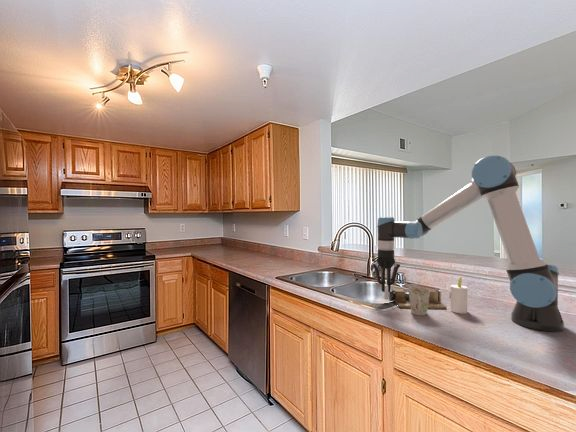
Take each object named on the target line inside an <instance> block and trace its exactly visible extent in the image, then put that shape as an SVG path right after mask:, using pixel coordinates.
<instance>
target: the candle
mask: <svg viewBox="0 0 576 432" xmlns="http://www.w3.org/2000/svg"><path fill="white" fill-rule="evenodd" d="M462 279H463V276H460V277H459V278H458V282H457V284H450V287H449V288H450V292H449V299H450V300H449V302H450V305H449V306H450V309H449V310H450V312H453V313H456V314H461V315H462V314H463V315H464V314H467V313H468V287H467V286H466V285H462Z"/></svg>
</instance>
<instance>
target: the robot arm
mask: <svg viewBox="0 0 576 432" xmlns="http://www.w3.org/2000/svg"><path fill="white" fill-rule="evenodd" d="M516 175H517V171H516V168H515V166H514V164H513V163H512V162H510V161H509V160H508V159H507V158H506V157H503V156H501V155H488V156H484V157H482V158H480V159H479V160H477V162H475V164H474V165H473V167H472V169H471V182H470V183H468V184H466V185H465V186H464V187H463V188H461V189H459V190H458V191H457V192H455V193H454V194H453V195H452V194H451V195H450V196H449V197H447V198H446V199H445V200H443V201H442V202H440V203H439V204H437V205H436V206H435V207H433V208H431V209H429V210H428V211H426V213H424V214H422V215H421V216H420V217H418V218H417V219H414V220H410V221H406V220H405V221H404V220H403V221H395V218H394V216H379V217H378V218H377V226H376V227H377V248H378V249H377V257H376V261H375V262H373V263H371V265H372V267H373V269H374V273H375V278H376V281H377V283H378V284H379V285H381V286H380V287H381V288H380V289H381V291H382V293H383V299H384V300H389V297H388V292H390V290H391V285H394V284H395V282H396V278H397V275H398V270H399V268H400V266H401V264H400V263H398V262H396V259H395V250H394V249H395V238H399V239H400V238H401V239H403V238H404V239H410V240H412V239H414V240H415V239H420V238H421V237H423V236H425V235H427V234H428V233H429V231H431V230H432V229H434V228H435V227H437V226H439V225H440V224H442V223H444V222H445V221H447V220H449V219H451V218H452V217H453V216H455V215H457V214H458V213H460V212H462V211H463V210H464V209H466V208H467V207H470V206H471V205H472V204H474V203H476V202H477V201H479V200H481V199H482V198H483V199H485V200H486V201H487V202H488V206H489V208H490V210H491V214H492V217H493V220H494V222H495V225H496V228H497V231H498V234H499V239H500V240H501V242H502V246H503V250H504V253H505V255H506V258H507V262H508V264H507V266H506V268H505V271H506V273H507V276H508V279H509V291H510V294H511V296H512V297H513V298H514V299H515V300H516V301H515V302H516V303H515V305H514V307H513V309H512V312H511V316H510V318H511V321H512V322H513V323H515V324H517V325H519V326H522V327H524V328H525V327H526V328H528V329H532V330H537V331H543V332H551V333H554V332H556V333H557V332H562V331H563V332H564V330H565V322H564V320H563V317H562V315H561V312H560V309H559V306H558V305H559V303H558V302H559V274H560V273H559V270H558V269H559V268H558V266H556V265H554V264H548V262H546V261H544V260H542V259H541V257H540V255H539V253H538V251H537V247H536V245H535V242H534V239H533V237H532V234H531V231H530V229H529V228H530V227H529V226H528V224H527V220H526V218H525V214H524V212H523V209H522V206H521V204H520V201H519V197H518V196H517V191H518V189H519V188H520V185H519V182H518V180H517V176H516ZM378 266H379V267H380V270H381V271H379V269H378ZM392 269H393V270H392ZM391 271H392V273H391ZM380 275H381V276H380Z"/></svg>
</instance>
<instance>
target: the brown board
mask: <svg viewBox="0 0 576 432" xmlns="http://www.w3.org/2000/svg"><path fill="white" fill-rule="evenodd" d="M391 289H392V290H391V291H393V292H395V299H394V300H393V301H392V302H394V304H395V303H396V304H397V305H398V306H399V307H400V308H399V307H398V306H397V305H396V304H395V305H396V306H397V307H398V308H399V309H411V306H410V299H408V300H405V293H406V291H405V289H403V288H391ZM428 289H429V290H430V296H429V303H428V310H447V305H445V304H443V303H442V291H440V290H438V288H428ZM407 293H409V291H408V290H407Z"/></svg>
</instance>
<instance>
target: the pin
mask: <svg viewBox="0 0 576 432" xmlns="http://www.w3.org/2000/svg"><path fill="white" fill-rule="evenodd" d="M394 299H395V292H393V291H392V290H391V289H390V292H388V301H390V302H394V301H393V300H394ZM405 299H409V293H408V292H405Z"/></svg>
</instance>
